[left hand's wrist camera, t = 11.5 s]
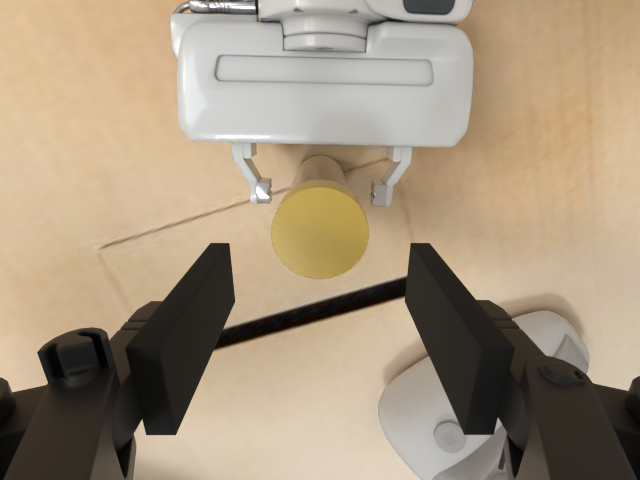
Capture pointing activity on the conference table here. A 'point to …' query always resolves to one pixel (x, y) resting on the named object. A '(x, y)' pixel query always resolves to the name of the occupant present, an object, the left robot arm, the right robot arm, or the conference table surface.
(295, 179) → the bottle
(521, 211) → the conference table surface
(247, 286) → the conference table surface
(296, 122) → the right robot arm
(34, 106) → the conference table surface
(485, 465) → the projector
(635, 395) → the left robot arm
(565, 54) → the conference table surface
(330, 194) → the lid
